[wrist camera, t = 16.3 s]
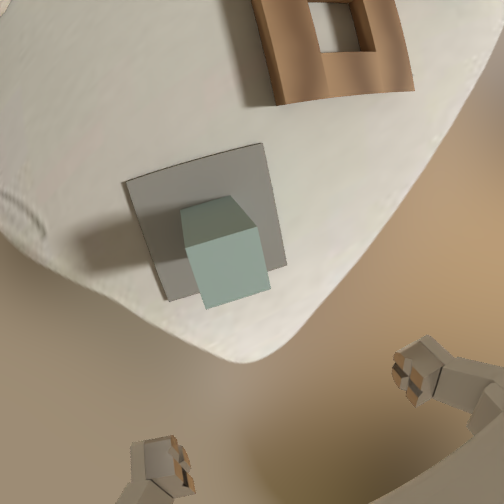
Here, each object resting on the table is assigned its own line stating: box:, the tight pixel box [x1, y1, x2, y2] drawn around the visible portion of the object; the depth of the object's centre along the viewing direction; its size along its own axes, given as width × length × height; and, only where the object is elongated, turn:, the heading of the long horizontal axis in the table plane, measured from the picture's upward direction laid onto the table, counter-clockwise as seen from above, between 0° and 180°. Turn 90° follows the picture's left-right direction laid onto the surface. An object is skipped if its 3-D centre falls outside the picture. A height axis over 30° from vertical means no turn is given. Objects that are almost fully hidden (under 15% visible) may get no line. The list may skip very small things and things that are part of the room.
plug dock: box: [251, 0, 415, 106], centre depth 23 cm, size 14×14×2 cm
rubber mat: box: [126, 143, 287, 302], centre depth 28 cm, size 12×12×1 cm
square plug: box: [180, 195, 271, 309], centre depth 24 cm, size 4×4×9 cm
